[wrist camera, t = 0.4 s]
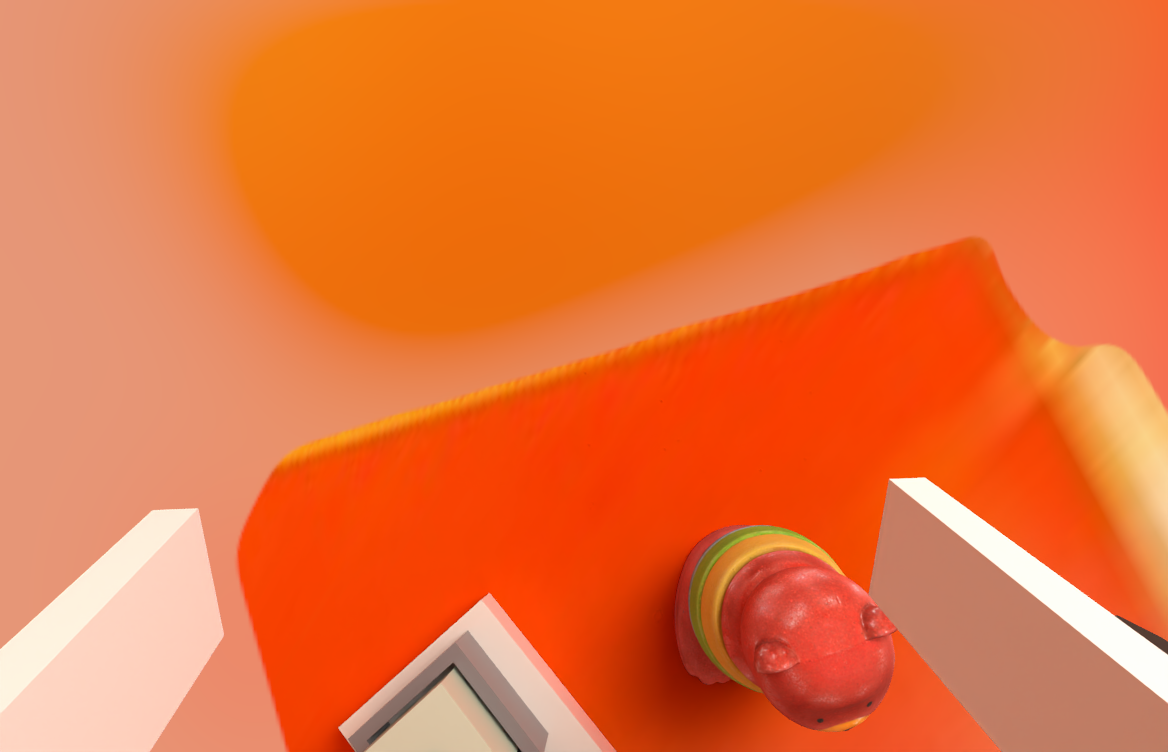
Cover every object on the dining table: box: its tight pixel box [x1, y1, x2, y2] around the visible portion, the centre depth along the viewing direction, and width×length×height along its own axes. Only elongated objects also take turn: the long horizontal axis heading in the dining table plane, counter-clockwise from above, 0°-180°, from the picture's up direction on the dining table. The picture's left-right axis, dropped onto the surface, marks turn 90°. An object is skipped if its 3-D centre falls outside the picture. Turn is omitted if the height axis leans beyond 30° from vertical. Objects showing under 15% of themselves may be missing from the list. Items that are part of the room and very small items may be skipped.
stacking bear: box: [674, 525, 898, 732], centre depth 35 cm, size 11×10×18 cm
